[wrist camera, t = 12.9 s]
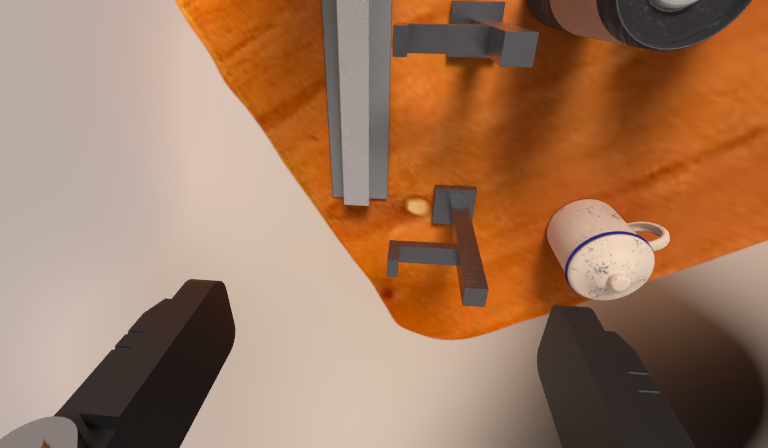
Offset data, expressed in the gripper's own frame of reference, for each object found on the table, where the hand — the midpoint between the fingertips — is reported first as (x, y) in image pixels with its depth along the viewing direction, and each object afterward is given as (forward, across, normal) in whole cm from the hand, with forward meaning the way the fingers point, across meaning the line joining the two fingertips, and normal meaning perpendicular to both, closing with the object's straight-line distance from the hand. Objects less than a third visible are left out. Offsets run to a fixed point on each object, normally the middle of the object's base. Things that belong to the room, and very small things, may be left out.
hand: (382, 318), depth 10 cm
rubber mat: (+37, +6, +3) cm, 38 cm away
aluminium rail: (+37, +6, +3) cm, 37 cm away
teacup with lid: (+38, -24, +18) cm, 48 cm away
